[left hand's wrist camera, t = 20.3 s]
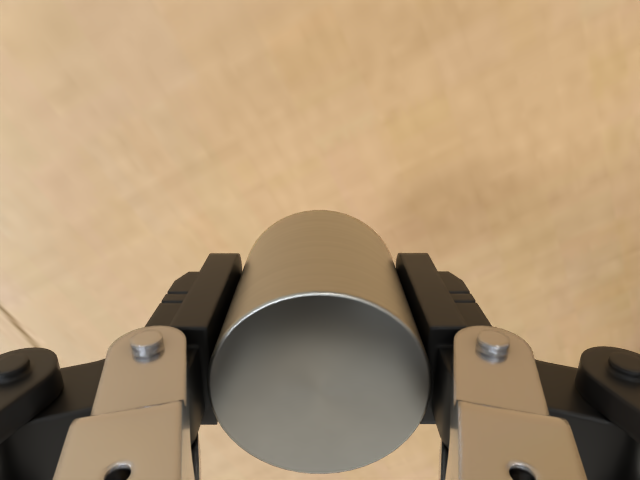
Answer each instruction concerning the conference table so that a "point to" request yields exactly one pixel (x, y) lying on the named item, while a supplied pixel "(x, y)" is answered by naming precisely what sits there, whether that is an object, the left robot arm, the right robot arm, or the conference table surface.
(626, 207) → the conference table surface
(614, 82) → the conference table surface
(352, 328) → the tin
